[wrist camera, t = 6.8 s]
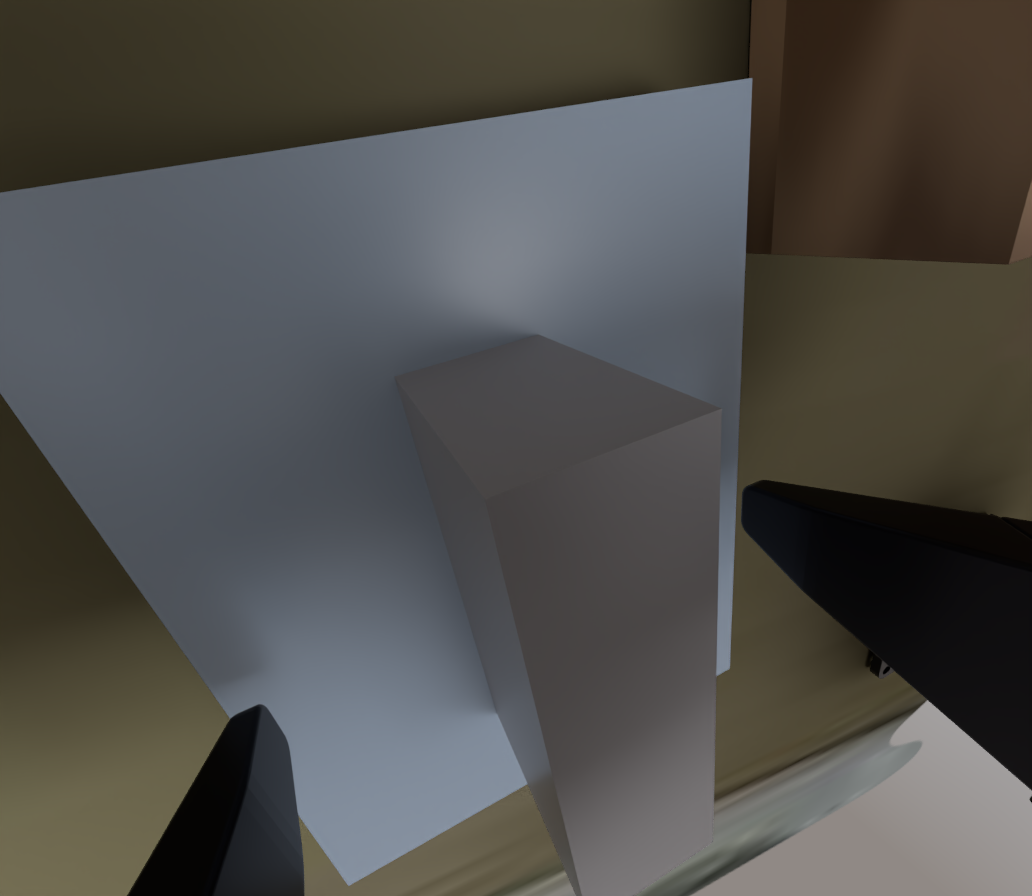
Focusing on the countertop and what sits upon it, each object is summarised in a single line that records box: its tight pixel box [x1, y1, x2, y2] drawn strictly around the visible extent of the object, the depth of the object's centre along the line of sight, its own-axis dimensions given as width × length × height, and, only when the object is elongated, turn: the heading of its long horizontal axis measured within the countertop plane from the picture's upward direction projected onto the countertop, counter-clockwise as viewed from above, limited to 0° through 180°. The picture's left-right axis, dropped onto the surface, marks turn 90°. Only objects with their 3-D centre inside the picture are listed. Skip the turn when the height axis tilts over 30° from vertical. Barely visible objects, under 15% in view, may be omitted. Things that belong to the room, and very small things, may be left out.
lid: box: [0, 78, 752, 896], centre depth 9 cm, size 14×11×6 cm
